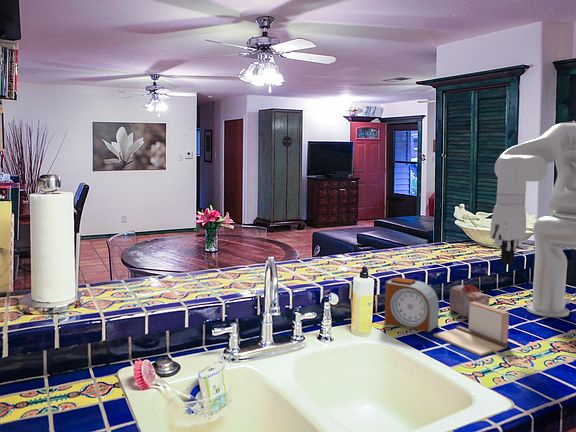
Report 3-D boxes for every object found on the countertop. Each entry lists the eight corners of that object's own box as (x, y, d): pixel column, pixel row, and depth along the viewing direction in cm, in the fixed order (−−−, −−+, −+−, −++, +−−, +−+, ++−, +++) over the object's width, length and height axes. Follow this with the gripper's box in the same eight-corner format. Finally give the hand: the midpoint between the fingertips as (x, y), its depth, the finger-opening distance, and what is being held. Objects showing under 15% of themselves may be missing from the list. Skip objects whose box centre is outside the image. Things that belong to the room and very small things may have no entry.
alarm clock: (382, 323, 169) (383, 280, 167) (393, 315, 175) (394, 274, 174) (428, 332, 160) (429, 287, 158) (438, 324, 167) (439, 281, 165)
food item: (492, 320, 171) (494, 289, 170) (471, 323, 168) (473, 292, 167) (464, 307, 184) (465, 279, 182) (444, 310, 181) (445, 281, 180)
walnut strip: (459, 329, 162) (459, 325, 162) (507, 348, 148) (507, 344, 148) (456, 330, 162) (456, 326, 161) (504, 349, 147) (504, 345, 147)
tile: (473, 330, 162) (474, 301, 160) (507, 343, 151) (509, 312, 150) (467, 332, 160) (468, 302, 159) (501, 345, 150) (503, 313, 149)
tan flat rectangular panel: (456, 330, 162) (456, 328, 162) (504, 349, 147) (504, 347, 147) (433, 336, 157) (433, 334, 157) (480, 356, 142) (480, 353, 142)
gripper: (516, 197, 161) (513, 258, 163) (481, 200, 154) (478, 263, 156) (539, 200, 154) (535, 263, 157) (504, 203, 147) (500, 269, 150)
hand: (507, 263), depth 157 cm, fingers closed
